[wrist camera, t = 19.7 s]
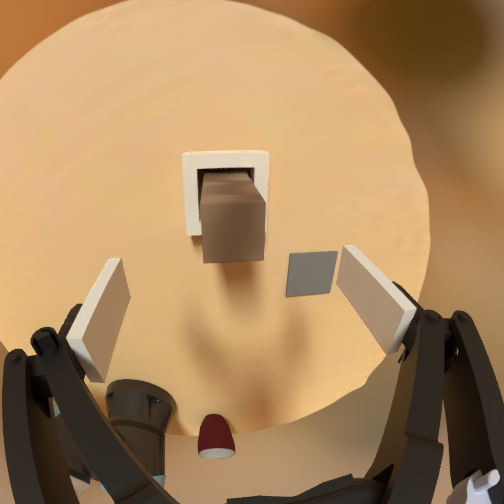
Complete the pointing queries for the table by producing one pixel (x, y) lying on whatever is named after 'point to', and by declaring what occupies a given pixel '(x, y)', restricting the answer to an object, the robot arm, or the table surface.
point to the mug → (215, 438)
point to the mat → (310, 273)
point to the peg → (231, 217)
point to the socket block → (219, 160)
